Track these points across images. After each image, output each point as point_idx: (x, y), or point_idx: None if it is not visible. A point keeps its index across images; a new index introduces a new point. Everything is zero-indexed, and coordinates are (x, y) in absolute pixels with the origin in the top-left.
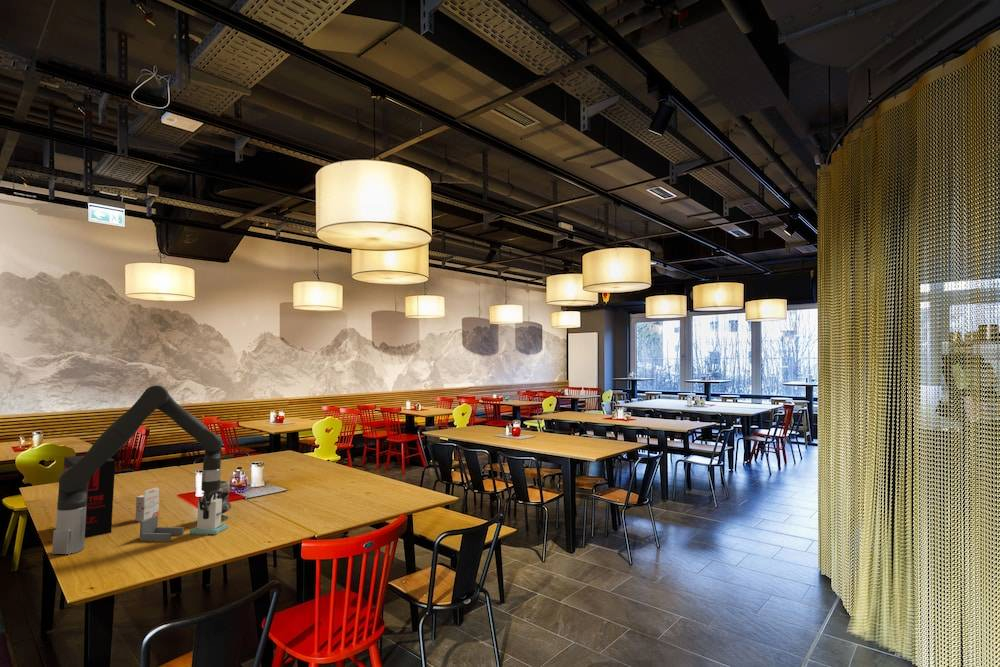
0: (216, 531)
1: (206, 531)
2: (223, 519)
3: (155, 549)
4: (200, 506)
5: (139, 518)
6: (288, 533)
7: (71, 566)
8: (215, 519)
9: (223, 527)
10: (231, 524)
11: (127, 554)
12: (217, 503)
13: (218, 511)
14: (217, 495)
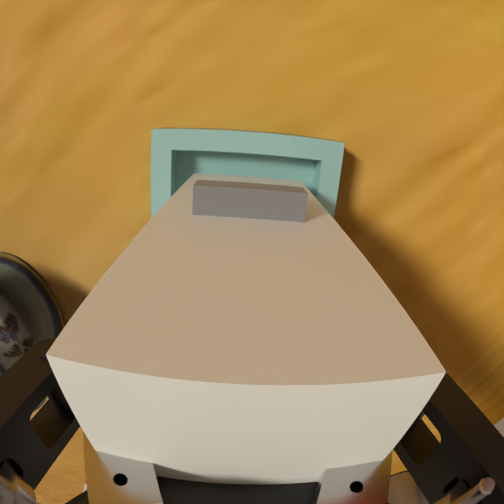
0: (340, 143)
1: None
2: (15, 263)
3: (483, 338)
4: (436, 441)
5: None
6: None
7: (497, 417)
8: (309, 201)
9: (228, 130)
10: (66, 159)
11: (486, 381)
12: (329, 322)
13: (250, 224)
14: (10, 472)
